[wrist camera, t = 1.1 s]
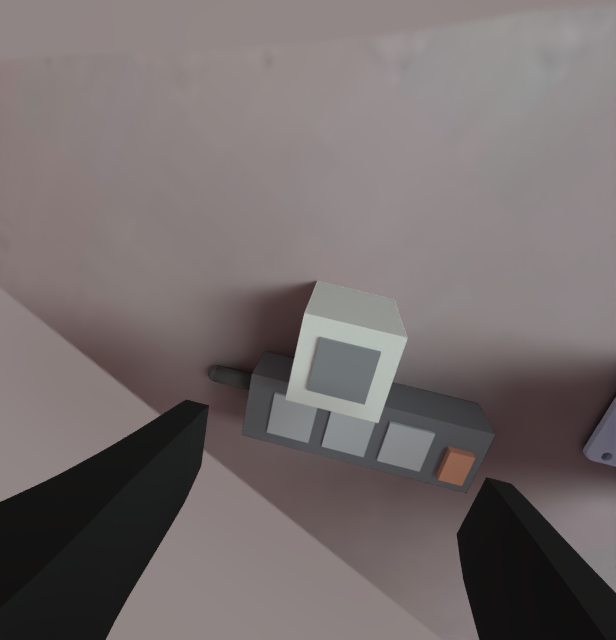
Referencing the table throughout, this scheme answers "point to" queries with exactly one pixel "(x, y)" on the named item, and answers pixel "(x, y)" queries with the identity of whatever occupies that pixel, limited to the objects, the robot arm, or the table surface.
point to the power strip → (368, 427)
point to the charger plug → (347, 352)
